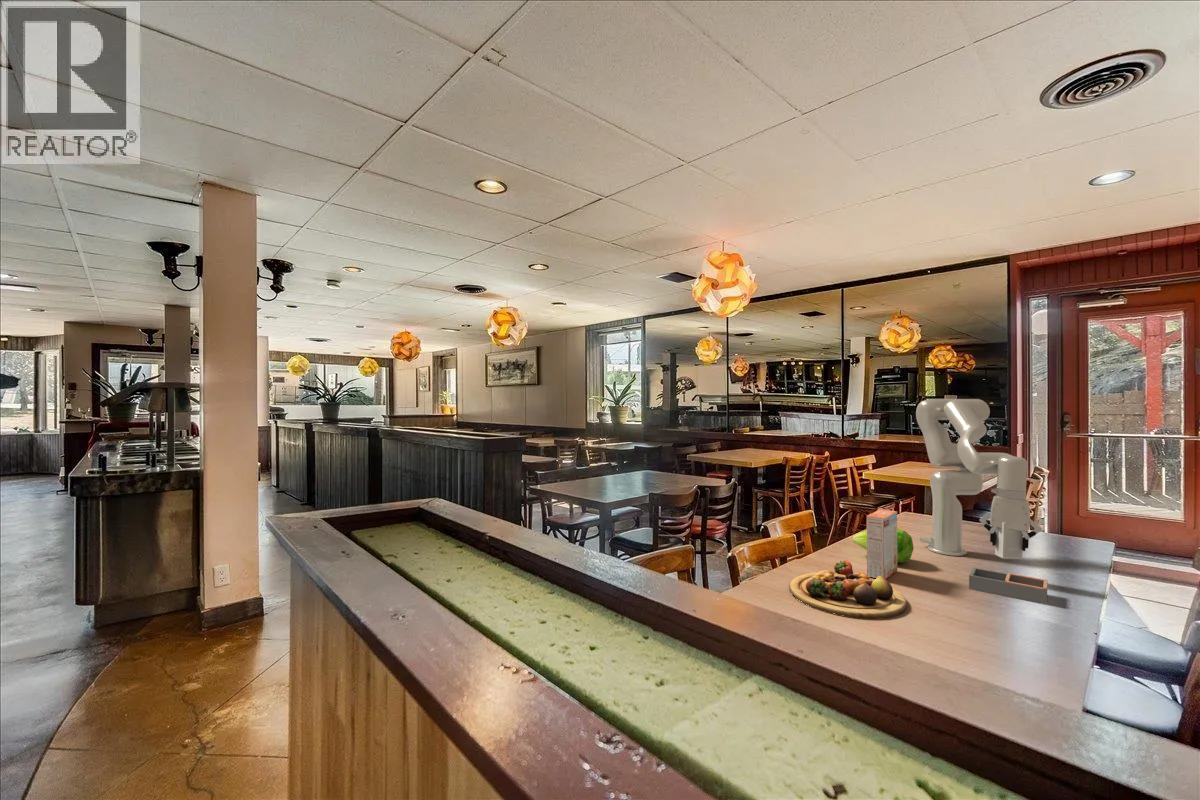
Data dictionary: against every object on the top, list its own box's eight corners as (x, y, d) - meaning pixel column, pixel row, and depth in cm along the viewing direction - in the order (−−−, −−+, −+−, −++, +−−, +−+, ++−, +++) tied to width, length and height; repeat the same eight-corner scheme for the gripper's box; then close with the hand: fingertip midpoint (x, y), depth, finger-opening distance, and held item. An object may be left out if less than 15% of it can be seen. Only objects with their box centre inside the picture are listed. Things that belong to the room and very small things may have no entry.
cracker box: (879, 567, 182) (879, 508, 182) (898, 571, 178) (898, 511, 178) (865, 577, 172) (865, 514, 172) (884, 581, 168) (885, 517, 168)
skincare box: (1013, 555, 172) (1015, 519, 172) (1022, 559, 168) (1024, 523, 168) (994, 554, 173) (995, 519, 172) (1002, 559, 169) (1004, 522, 168)
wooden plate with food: (807, 572, 178) (807, 548, 178) (914, 593, 158) (914, 566, 158) (773, 602, 154) (773, 575, 153) (895, 632, 133) (895, 601, 133)
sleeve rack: (969, 588, 162) (969, 574, 162) (973, 580, 170) (973, 566, 170) (1046, 604, 150) (1046, 589, 150) (1047, 594, 157) (1047, 580, 157)
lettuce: (859, 549, 203) (859, 519, 203) (918, 561, 189) (918, 528, 189) (847, 557, 193) (847, 525, 193) (908, 570, 179) (909, 535, 179)
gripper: (977, 492, 173) (974, 544, 173) (1045, 500, 161) (1043, 556, 162) (979, 488, 178) (977, 539, 179) (1046, 496, 167) (1043, 550, 167)
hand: (1008, 546), depth 170 cm, fingers closed on skincare box, 7 cm apart
